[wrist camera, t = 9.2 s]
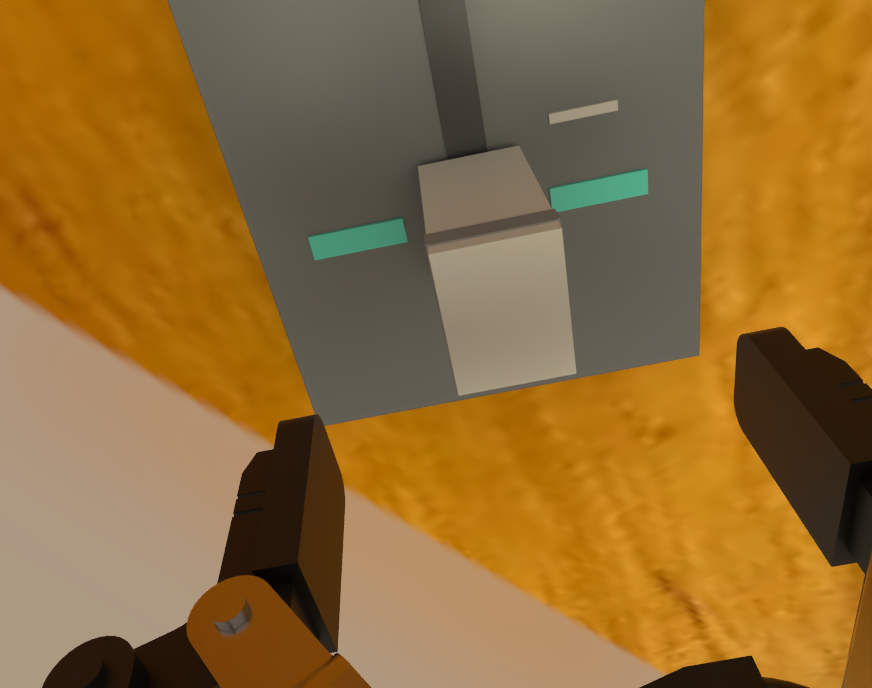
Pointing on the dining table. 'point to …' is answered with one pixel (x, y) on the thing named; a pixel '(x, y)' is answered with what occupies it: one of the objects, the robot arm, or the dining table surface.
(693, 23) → the console
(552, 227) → the fader tab
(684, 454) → the dining table surface
